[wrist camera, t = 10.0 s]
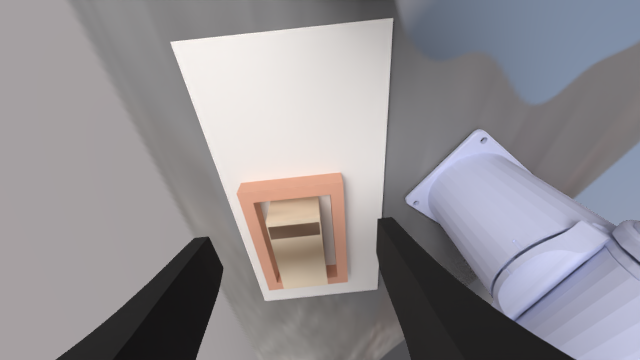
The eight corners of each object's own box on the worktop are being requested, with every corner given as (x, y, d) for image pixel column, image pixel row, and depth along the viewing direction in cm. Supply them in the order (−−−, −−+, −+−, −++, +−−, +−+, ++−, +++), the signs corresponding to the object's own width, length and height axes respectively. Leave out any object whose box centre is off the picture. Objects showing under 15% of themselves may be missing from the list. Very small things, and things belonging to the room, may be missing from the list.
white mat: (391, 18, 14) (393, 17, 14) (376, 286, 28) (377, 289, 27) (173, 41, 14) (170, 41, 14) (265, 297, 28) (265, 301, 27)
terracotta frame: (241, 182, 19) (236, 193, 18) (340, 172, 19) (343, 182, 18) (270, 277, 25) (269, 290, 24) (345, 269, 25) (347, 282, 24)
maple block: (325, 258, 24) (327, 285, 22) (286, 262, 24) (284, 290, 22) (317, 194, 20) (319, 218, 17) (270, 199, 20) (265, 224, 17)
